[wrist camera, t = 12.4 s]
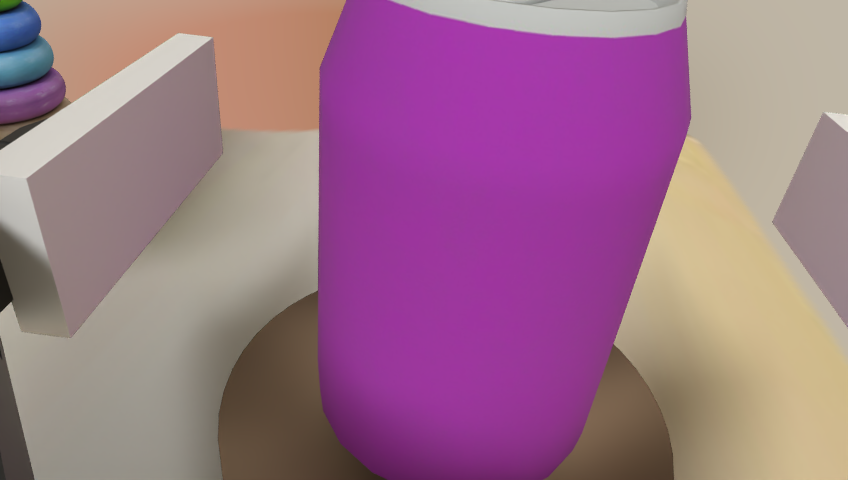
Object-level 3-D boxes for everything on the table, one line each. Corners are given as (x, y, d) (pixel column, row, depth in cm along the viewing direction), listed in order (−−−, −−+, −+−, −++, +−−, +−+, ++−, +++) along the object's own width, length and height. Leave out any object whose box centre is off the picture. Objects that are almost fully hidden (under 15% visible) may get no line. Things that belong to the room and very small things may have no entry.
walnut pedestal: (164, 464, 22) (143, 357, 19) (447, 325, 29) (461, 234, 27) (395, 874, 14) (415, 793, 11) (702, 541, 21) (760, 443, 19)
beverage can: (503, 585, 14) (664, 64, 8) (258, 418, 18) (227, -51, 11) (616, 387, 20) (766, -15, 13) (415, 288, 23) (456, -76, 17)
